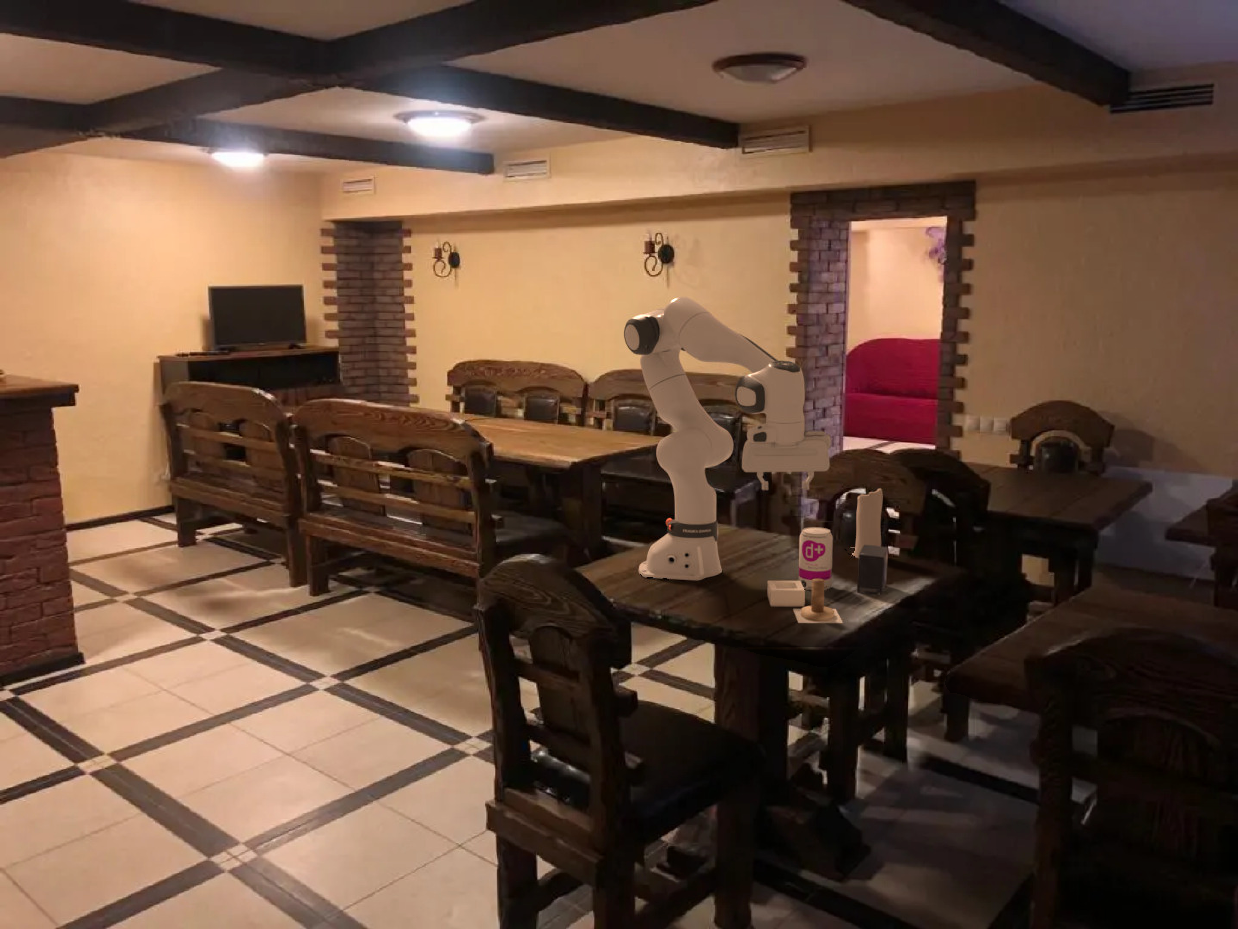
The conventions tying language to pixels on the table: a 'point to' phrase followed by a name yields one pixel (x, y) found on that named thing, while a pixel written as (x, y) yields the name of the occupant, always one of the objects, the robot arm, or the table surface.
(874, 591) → the small box
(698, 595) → the table surface
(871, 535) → the beige wavy upright slab
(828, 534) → the supplement can
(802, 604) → the dish
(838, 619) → the mat
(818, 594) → the wooden peg stand
